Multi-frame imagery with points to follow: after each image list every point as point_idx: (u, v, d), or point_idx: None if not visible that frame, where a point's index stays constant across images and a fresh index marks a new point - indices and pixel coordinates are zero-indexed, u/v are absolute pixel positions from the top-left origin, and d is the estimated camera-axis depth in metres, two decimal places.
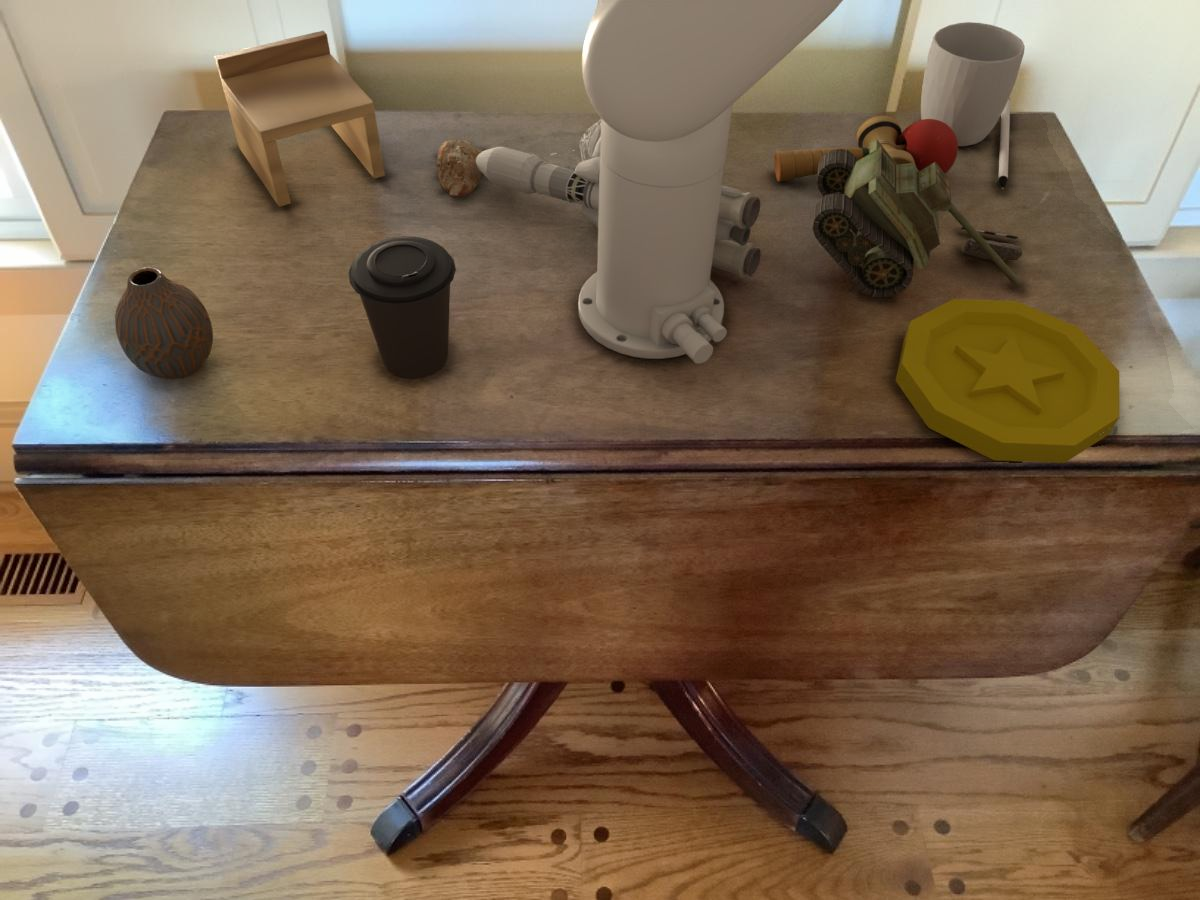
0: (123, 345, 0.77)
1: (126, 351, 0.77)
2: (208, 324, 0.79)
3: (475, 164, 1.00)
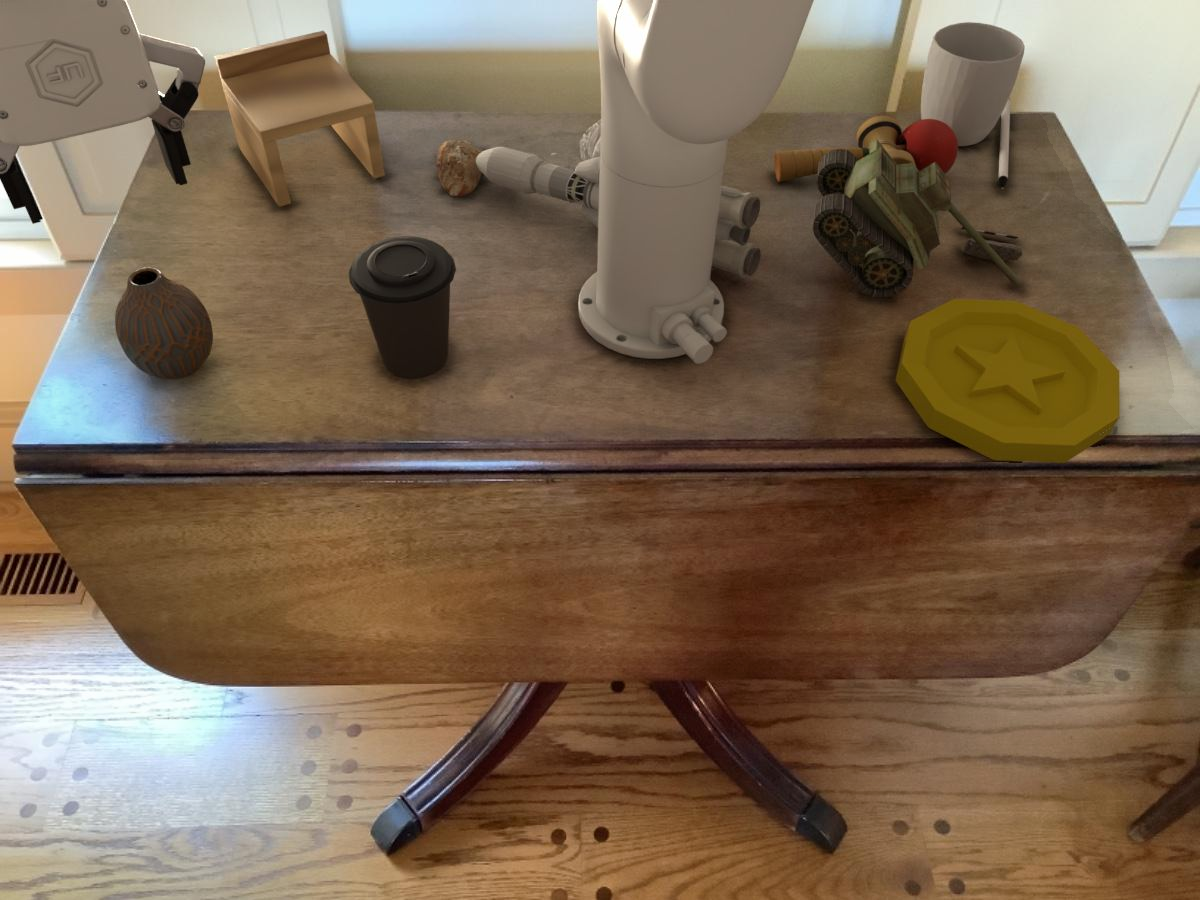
0: (123, 345, 0.77)
1: (126, 351, 0.77)
2: (208, 324, 0.79)
3: (475, 164, 1.00)
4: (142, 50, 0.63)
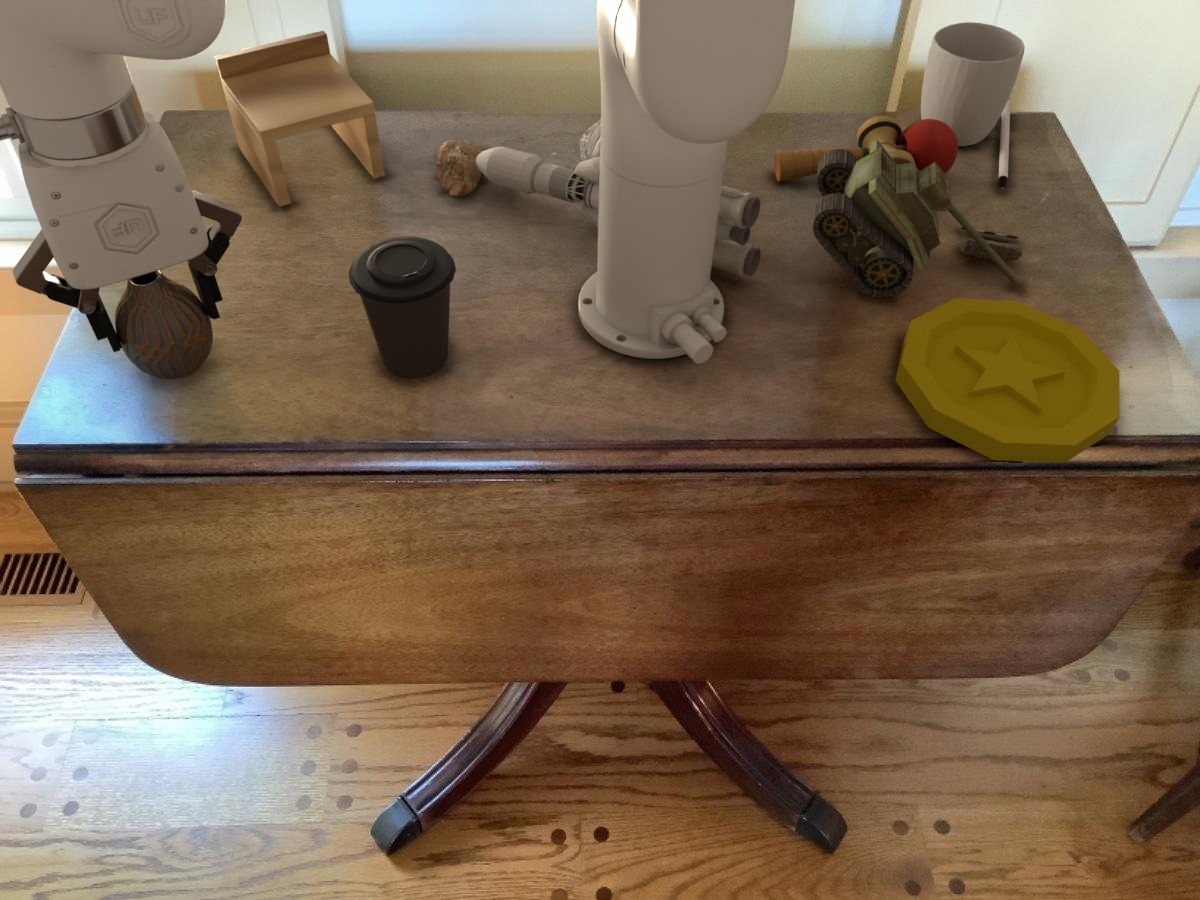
0: (123, 345, 0.77)
1: (126, 351, 0.77)
2: (208, 324, 0.79)
3: (475, 164, 1.00)
4: (193, 203, 0.71)
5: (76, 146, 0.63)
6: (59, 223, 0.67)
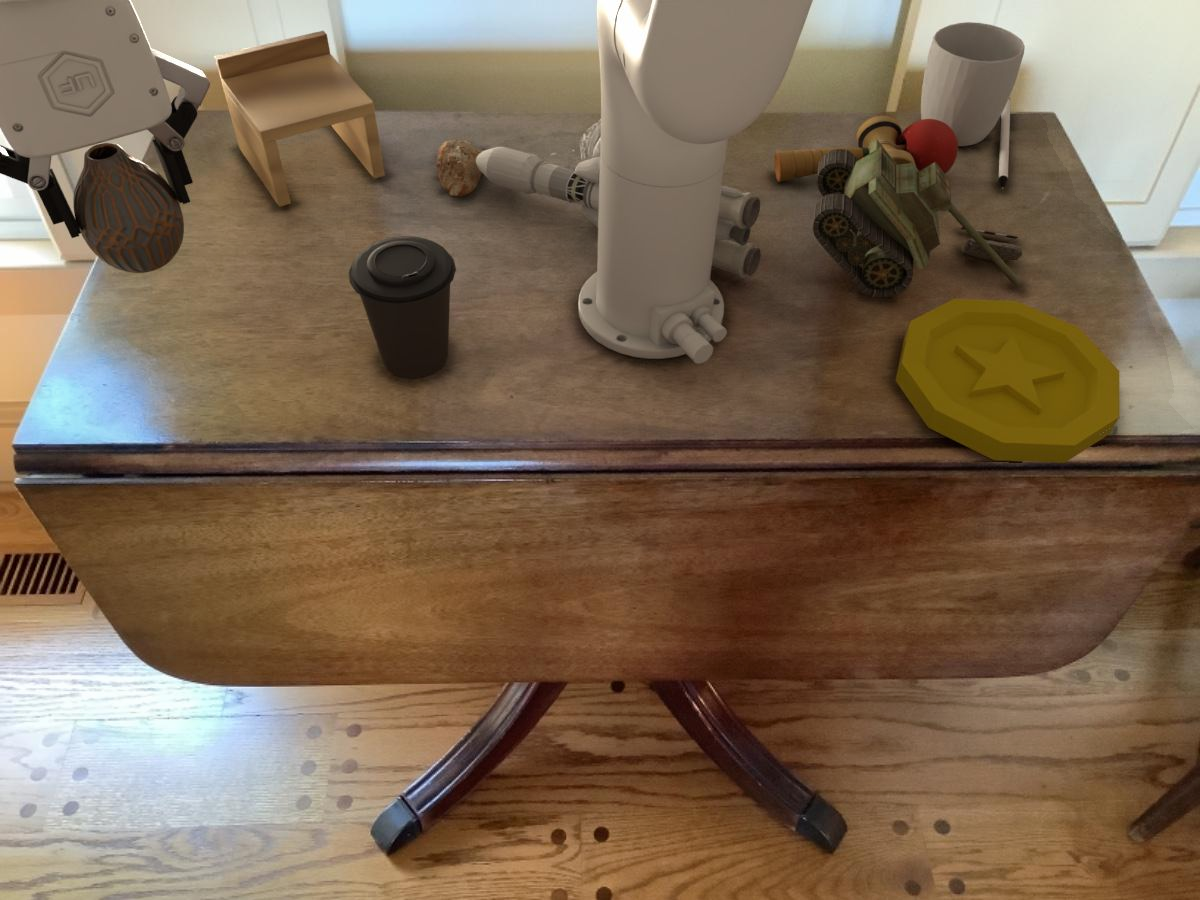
0: (82, 231, 0.70)
1: (86, 238, 0.70)
2: (177, 209, 0.72)
3: (475, 164, 1.00)
4: (152, 58, 0.63)
5: None
6: None
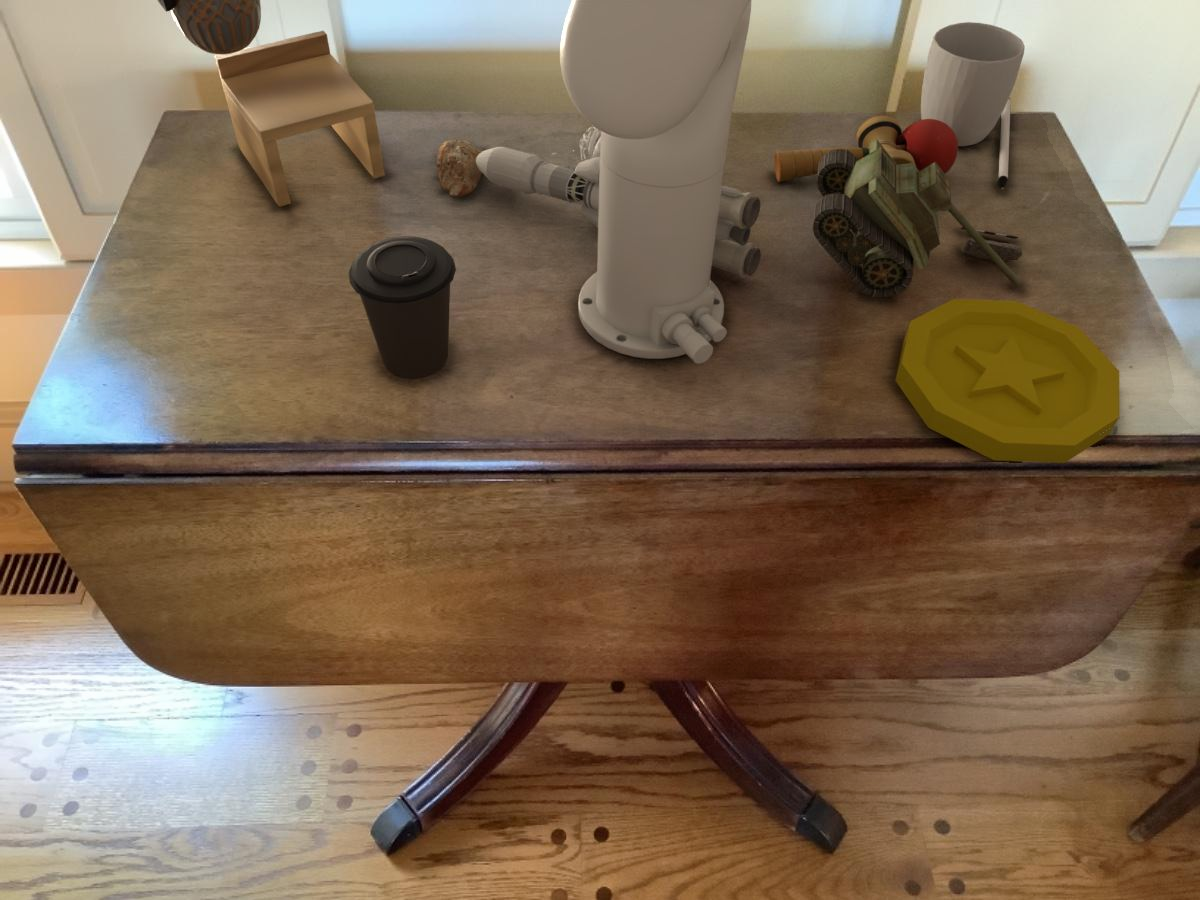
0: (175, 6, 0.78)
1: (177, 14, 0.78)
2: None
3: (475, 164, 1.00)
4: None
5: None
6: None
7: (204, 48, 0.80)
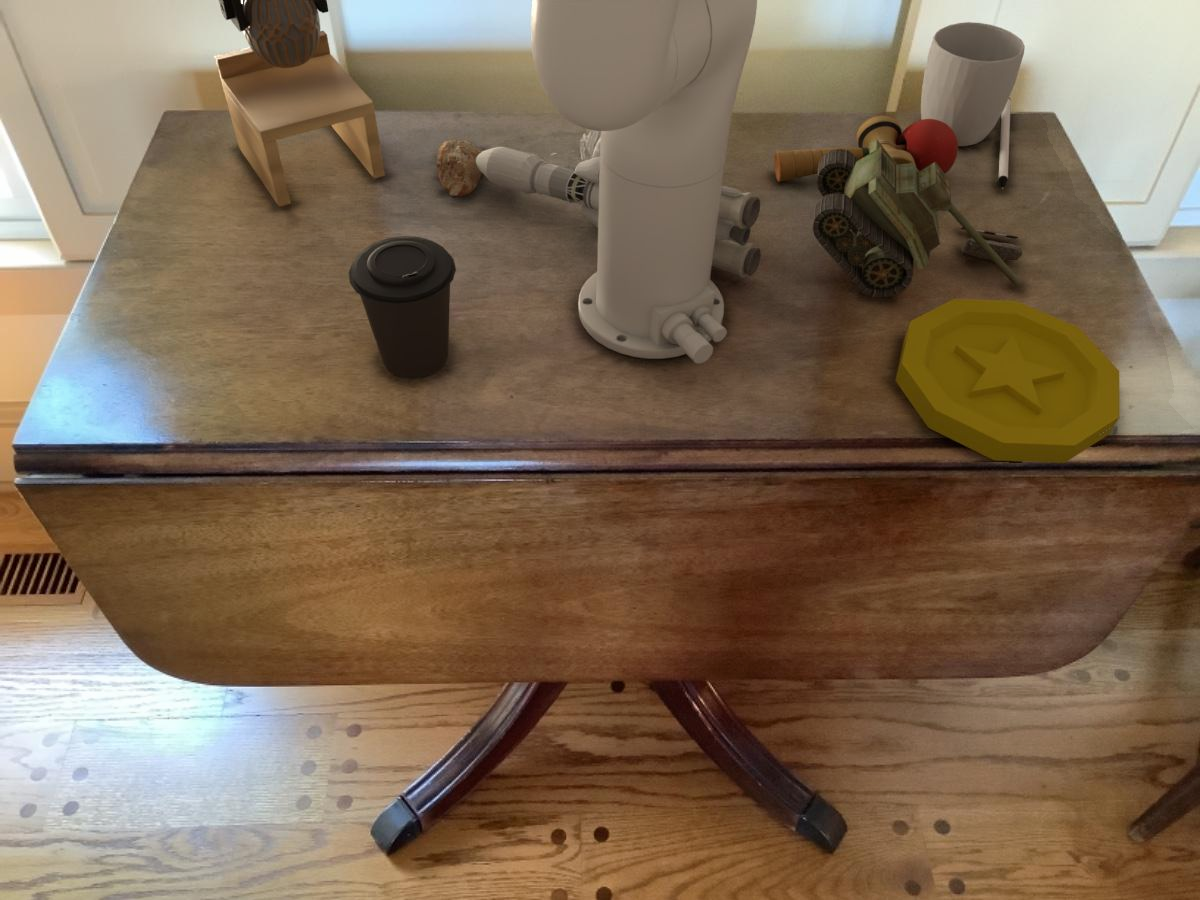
0: (247, 27, 0.89)
1: (249, 33, 0.90)
2: (318, 16, 0.92)
3: (475, 164, 1.00)
4: None
5: None
6: None
7: (270, 63, 0.92)
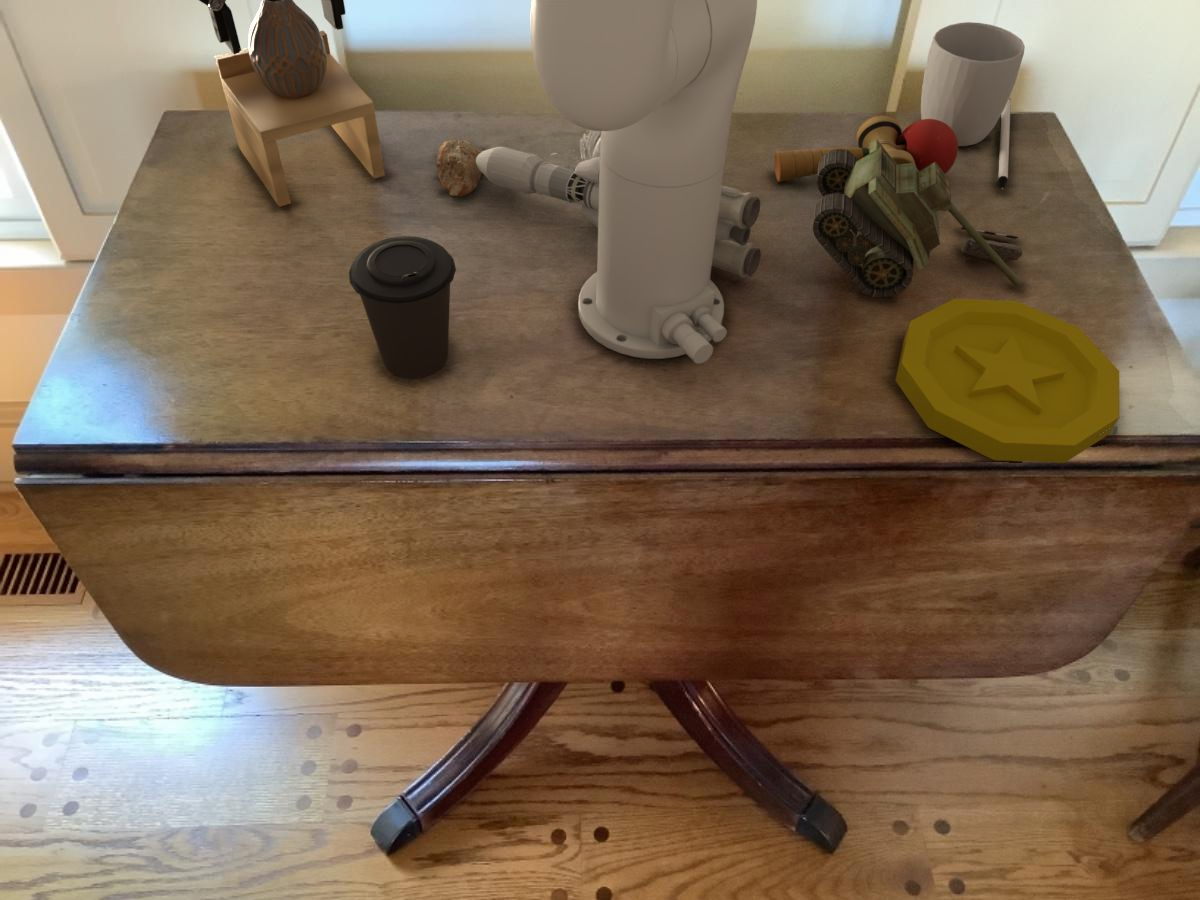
0: (255, 59, 0.92)
1: (258, 65, 0.92)
2: (324, 48, 0.94)
3: (475, 164, 1.00)
4: None
5: None
6: None
7: (278, 93, 0.94)
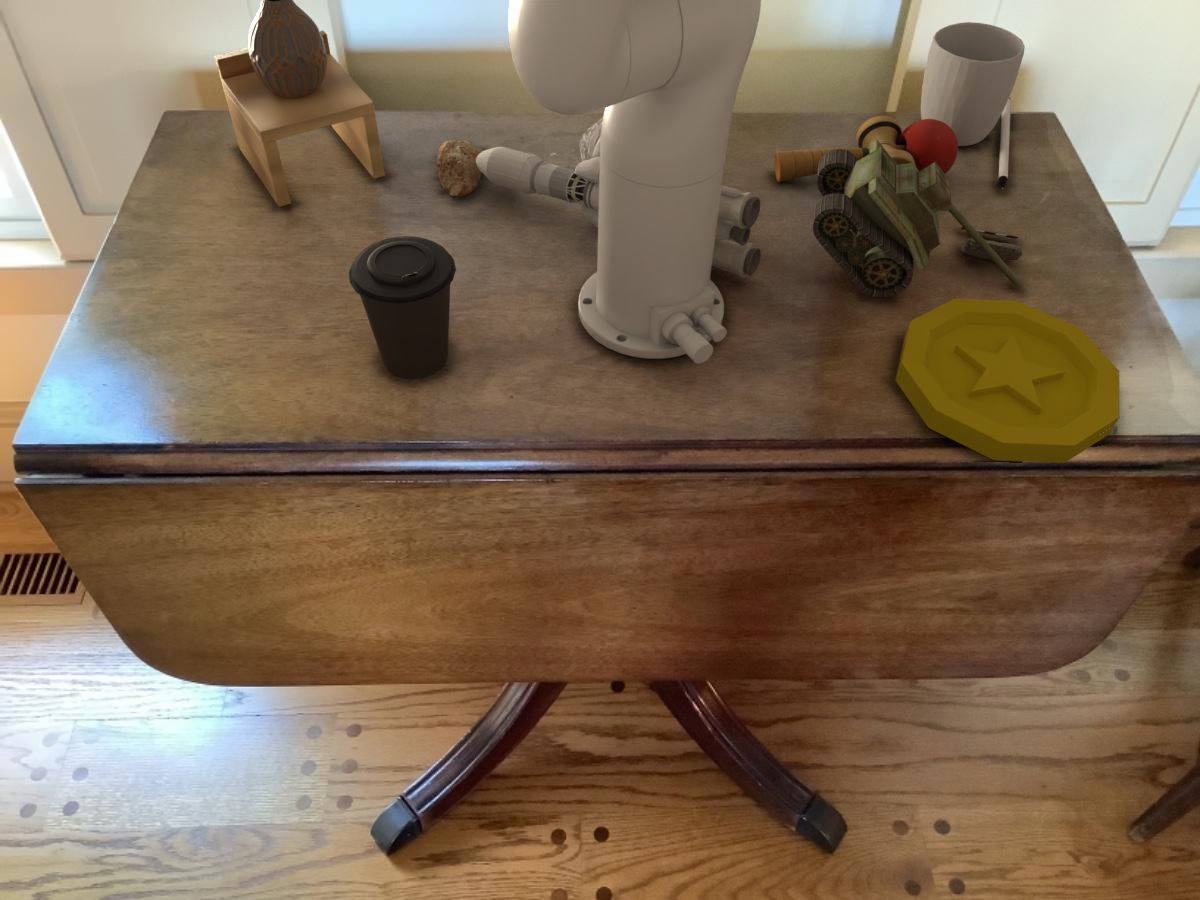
0: (255, 59, 0.92)
1: (258, 65, 0.92)
2: (324, 48, 0.94)
3: (475, 164, 1.00)
4: None
5: None
6: None
7: (278, 93, 0.94)
